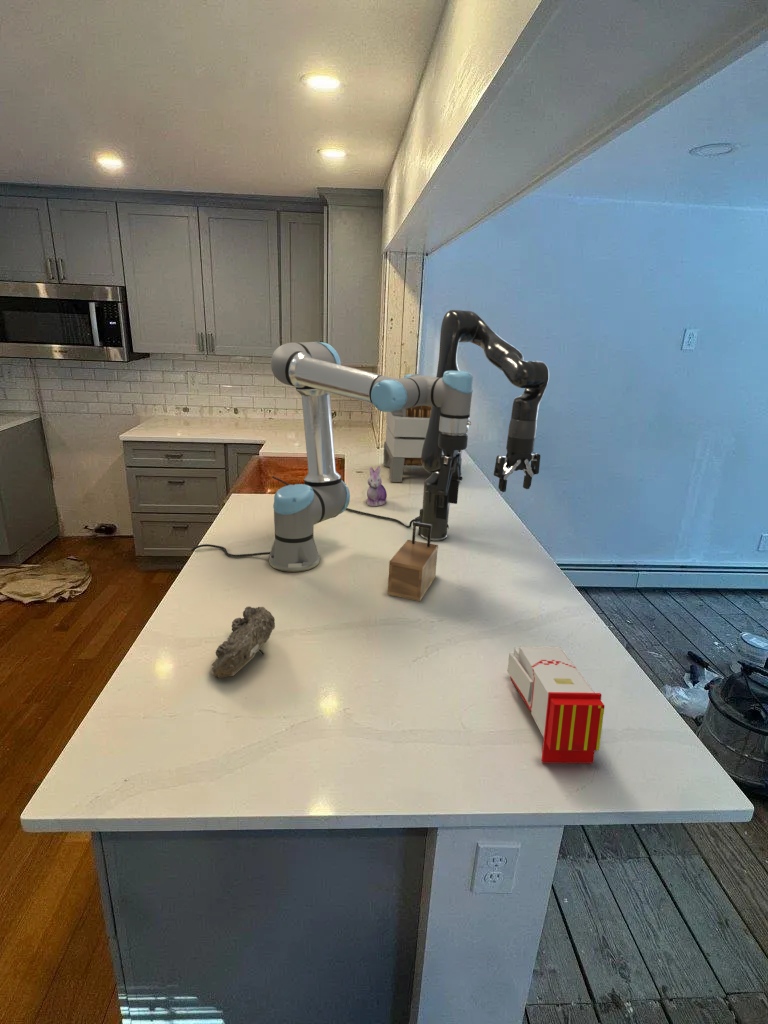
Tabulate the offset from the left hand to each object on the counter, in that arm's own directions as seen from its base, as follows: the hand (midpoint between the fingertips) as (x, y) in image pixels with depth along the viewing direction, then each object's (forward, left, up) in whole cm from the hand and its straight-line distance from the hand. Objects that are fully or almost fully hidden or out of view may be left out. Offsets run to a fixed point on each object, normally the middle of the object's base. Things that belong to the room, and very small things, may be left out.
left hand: (446, 510), depth 153 cm
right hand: (+15, +18, +3) cm, 24 cm away
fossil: (-32, -48, -24) cm, 63 cm away
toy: (+32, -43, -24) cm, 59 cm away
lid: (-8, 0, -15) cm, 17 cm away
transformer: (-39, +114, -24) cm, 123 cm away
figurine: (-43, +63, -24) cm, 80 cm away
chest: (-8, -1, -24) cm, 25 cm away
